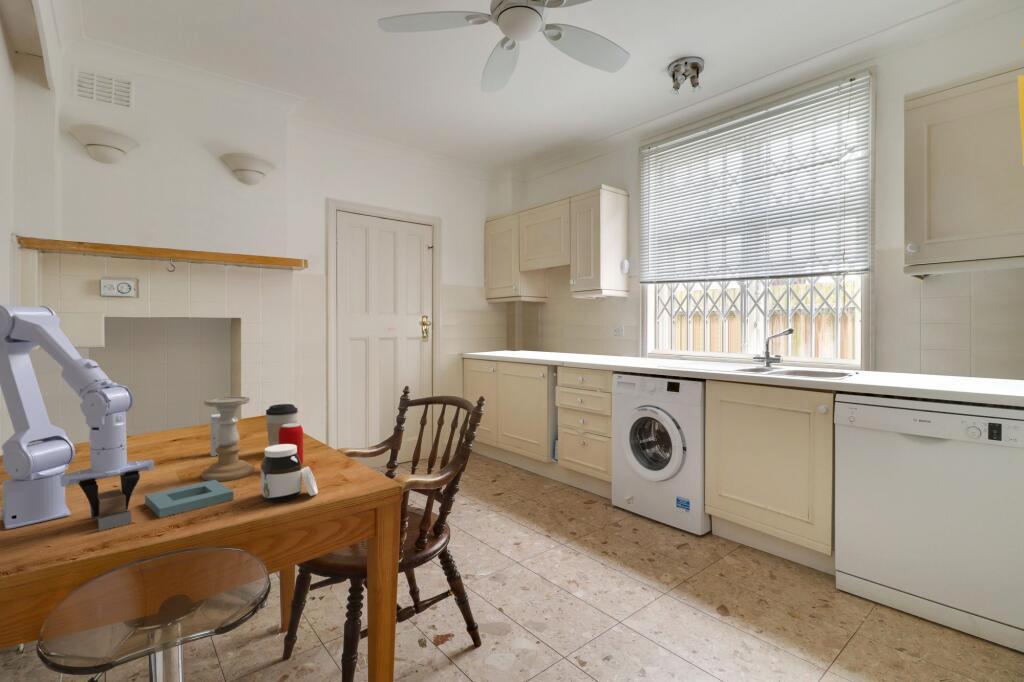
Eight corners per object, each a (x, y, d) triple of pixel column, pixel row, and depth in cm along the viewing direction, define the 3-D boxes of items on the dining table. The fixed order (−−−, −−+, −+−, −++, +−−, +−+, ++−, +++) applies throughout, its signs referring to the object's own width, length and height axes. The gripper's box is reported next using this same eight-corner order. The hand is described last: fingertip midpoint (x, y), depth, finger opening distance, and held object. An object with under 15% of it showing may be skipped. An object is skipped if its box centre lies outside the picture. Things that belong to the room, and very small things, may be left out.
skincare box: (210, 456, 145) (210, 416, 145) (210, 453, 149) (209, 414, 149) (234, 453, 149) (233, 414, 148) (233, 450, 152) (232, 412, 152)
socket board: (160, 518, 100) (159, 508, 100) (145, 503, 108) (145, 494, 108) (233, 499, 111) (233, 491, 111) (215, 487, 119) (215, 479, 119)
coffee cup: (266, 450, 153) (266, 403, 152) (298, 447, 157) (297, 401, 156) (265, 457, 145) (264, 408, 144) (298, 454, 149) (298, 405, 148)
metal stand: (99, 531, 94) (99, 518, 94) (90, 517, 100) (90, 506, 100) (131, 523, 98) (131, 511, 98) (120, 510, 104) (120, 499, 104)
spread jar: (256, 495, 114) (255, 446, 114) (305, 484, 122) (304, 438, 122) (274, 509, 106) (273, 457, 105) (325, 496, 114) (325, 447, 113)
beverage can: (280, 464, 138) (280, 423, 137) (304, 463, 140) (303, 421, 139) (277, 471, 132) (276, 427, 132) (302, 469, 134) (301, 426, 133)
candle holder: (257, 465, 137) (256, 394, 136) (250, 479, 126) (249, 401, 125) (207, 469, 133) (206, 396, 132) (195, 484, 121) (193, 404, 121)
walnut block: (100, 526, 96) (100, 501, 95) (95, 517, 100) (94, 493, 99) (126, 520, 99) (125, 495, 98) (119, 512, 103) (119, 488, 102)
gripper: (63, 457, 90) (65, 528, 91) (157, 443, 101) (158, 507, 102) (58, 450, 95) (60, 518, 96) (148, 437, 106) (149, 498, 107)
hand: (110, 512), depth 99 cm, fingers closed on walnut block, 4 cm apart
